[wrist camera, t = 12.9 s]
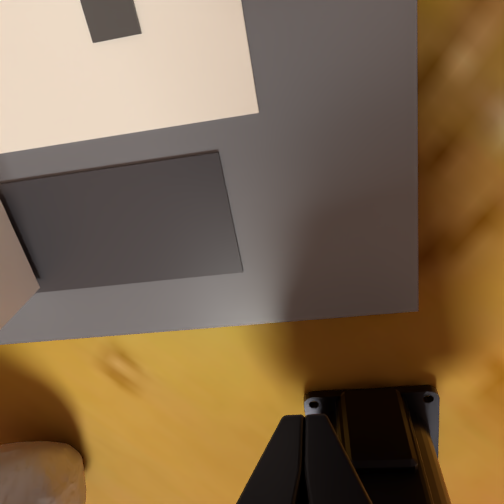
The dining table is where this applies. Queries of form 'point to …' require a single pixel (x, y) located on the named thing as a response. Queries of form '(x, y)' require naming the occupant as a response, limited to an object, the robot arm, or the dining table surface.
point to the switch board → (209, 162)
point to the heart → (41, 473)
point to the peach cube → (13, 272)
